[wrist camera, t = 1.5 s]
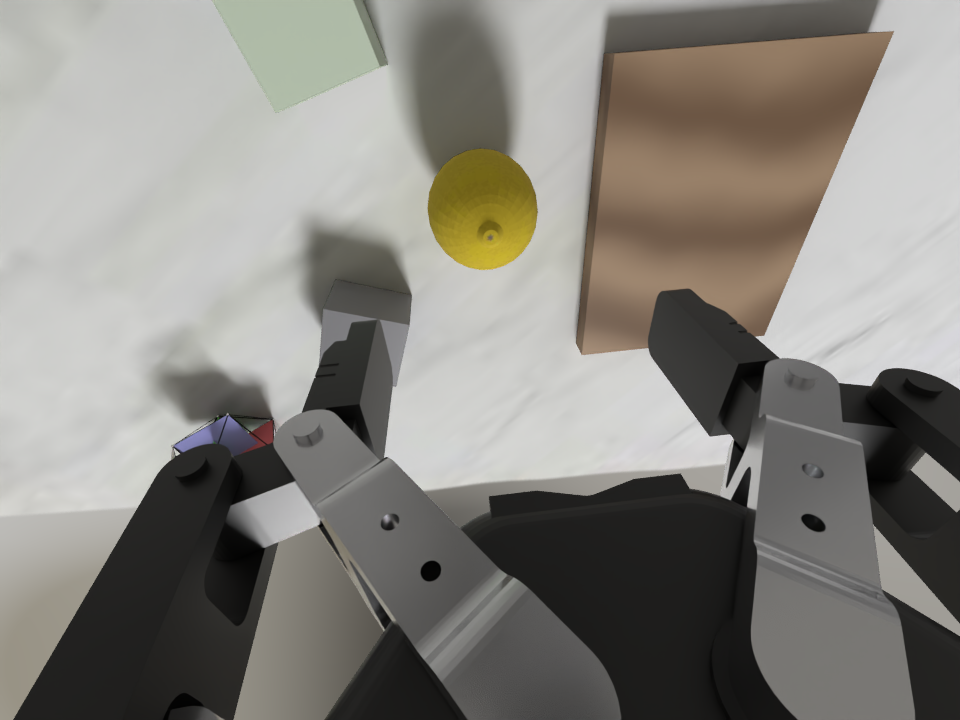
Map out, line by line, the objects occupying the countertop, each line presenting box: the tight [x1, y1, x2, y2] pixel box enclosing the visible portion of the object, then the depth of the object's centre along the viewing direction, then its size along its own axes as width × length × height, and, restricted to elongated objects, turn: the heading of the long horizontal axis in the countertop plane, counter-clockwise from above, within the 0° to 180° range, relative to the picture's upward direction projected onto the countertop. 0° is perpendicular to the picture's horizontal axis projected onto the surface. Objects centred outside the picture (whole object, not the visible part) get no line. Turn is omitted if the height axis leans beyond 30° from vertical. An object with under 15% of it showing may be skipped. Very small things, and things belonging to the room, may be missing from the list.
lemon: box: [428, 148, 538, 270], centre depth 21 cm, size 6×6×8 cm
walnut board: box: [576, 31, 894, 355], centre depth 26 cm, size 18×14×2 cm
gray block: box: [319, 280, 412, 387], centre depth 27 cm, size 5×5×4 cm
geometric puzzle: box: [171, 413, 276, 460], centre depth 31 cm, size 7×7×8 cm
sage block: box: [212, 0, 388, 113], centre depth 18 cm, size 5×5×4 cm
